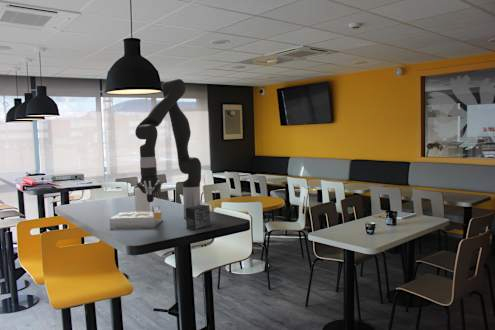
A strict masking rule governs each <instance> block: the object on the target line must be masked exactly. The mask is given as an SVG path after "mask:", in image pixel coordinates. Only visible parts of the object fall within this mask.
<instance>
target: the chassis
mask: <svg viewBox="0 0 495 330" xmlns="http://www.w3.org/2000/svg"><path fill="white" fill-rule="evenodd" d="M160 212H161V219H158V220H154V213H153V212H152V210H150V211H142V212H135V211H120V212H119V213H116V214H115V215H113V216H111V217H110V218H109V229H115V230H116V229H141V228H144V229H145V228H155V227H156V226H158V225H159V224H160V223H161V221H163V218H162V216H163V215H162V213H163V212H162V210H160Z"/></svg>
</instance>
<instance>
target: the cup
mask: <svg viewBox="0 0 495 330" xmlns="http://www.w3.org/2000/svg"><path fill="white" fill-rule="evenodd" d="M133 189H134V203H135V204H134V205H135V206H134V207H135V209H134V212H142V211H151V202H148V201H147V195H146V194H145V193H143V192H142V191H141V190H140V188H139V187H134V188H133Z"/></svg>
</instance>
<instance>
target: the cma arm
mask: <svg viewBox="0 0 495 330" xmlns="http://www.w3.org/2000/svg"><path fill="white" fill-rule="evenodd" d="M160 208H161V207H160V205H152V206H151V209H152V210H151V211H152V212H153V213H154V220H158V219H161V212H160V211H161V210H160Z"/></svg>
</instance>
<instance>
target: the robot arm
mask: <svg viewBox="0 0 495 330" xmlns="http://www.w3.org/2000/svg"><path fill="white" fill-rule="evenodd" d="M161 89H162V90H161V91H162V94H163V95H162V96H163V99H161V100H160V101H159V102H158V103H157V104H156V105H154V107H152V109H151V110H150V112H149V114H148V115H147V116H146V117H145V118H144V119H143V120H142V121H141V122H140V123H139V124H137V126H136V129H135V131H134V132H135V133H134V134H135V137H136V138H137V139H138V140H145V141H144V144H141V145H140V146H139V156H140V157H139V164H140V165H139V167H140V169H139V170H140V177H141V178H140V181H139V182H137V183H136V186H137V188H140V190H141V191H142V192H143V193H145V194H146V195H147V201H148V202H150V203H152V202H154V198H155V197H154V194H156V193H158V191H159V190H160V188H161V187H162V185H163V182H160V181H159V179H158V171H157V165H158V164H157V158H156V145H157V141H158V140H157V139H158V129H157V127H159V126H160V125H161V124H162V122H163V120H164V119H165V117H166V116H167V114H169V119H170V123H171V124H170V125H171V128H172V129H171V130H172V133H173V137H174V143H175V147H176V154H177V160H178V163H177V164H178V168H179V171H180V173H182V174H185V175H187V179H186V180H184V181H183V182H182V197H183V198H182V201H183V219H185V220H186V208H188V207H193V206H198V205H202V200H201V181H202V163H201V160H200V159H199V158H198V157H193V156H191V157H190V154H189V141H190V138H191V132H192V131H191V128H190V121H189V119H188V117H187V116H186V114H184V112H183V111H182V110H181V108H180V107H179V104H178V101H179V100H180V99H182V97H183V96H184V94H185V93H186V83H185V82H184V81H183V79H180V78H174V79H168V80H165V81H163V83H162V85H161Z"/></svg>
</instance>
